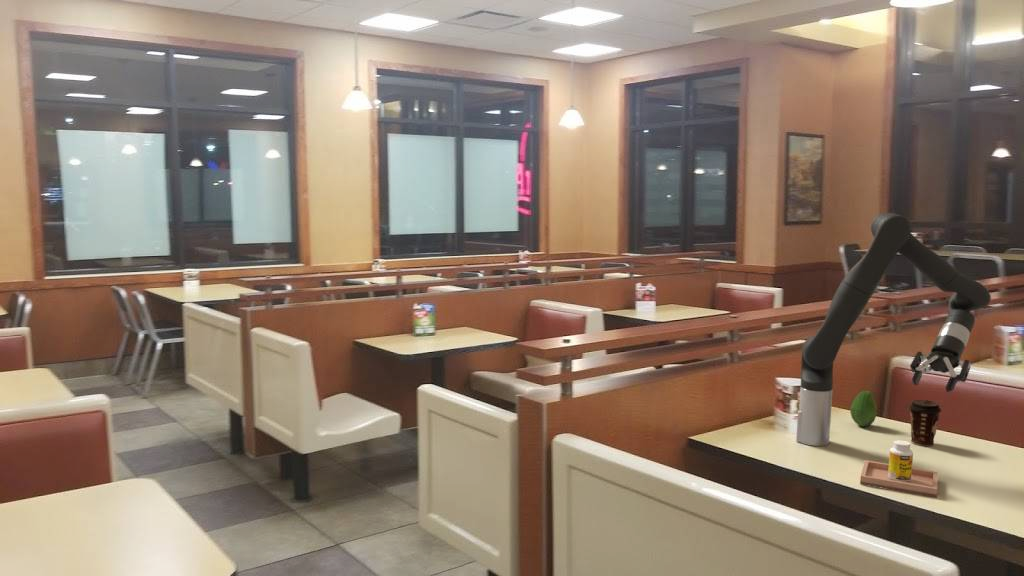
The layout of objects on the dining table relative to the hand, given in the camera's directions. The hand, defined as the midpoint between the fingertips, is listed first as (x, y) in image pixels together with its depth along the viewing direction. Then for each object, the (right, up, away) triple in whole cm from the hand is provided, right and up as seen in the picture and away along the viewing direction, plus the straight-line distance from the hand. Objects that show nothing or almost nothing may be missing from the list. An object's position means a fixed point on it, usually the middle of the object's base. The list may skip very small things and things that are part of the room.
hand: (931, 387), depth 214 cm
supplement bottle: (-13, -24, -7) cm, 28 cm away
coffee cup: (+11, -21, +25) cm, 35 cm away
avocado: (0, -19, +42) cm, 46 cm away
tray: (-13, -25, -7) cm, 29 cm away
